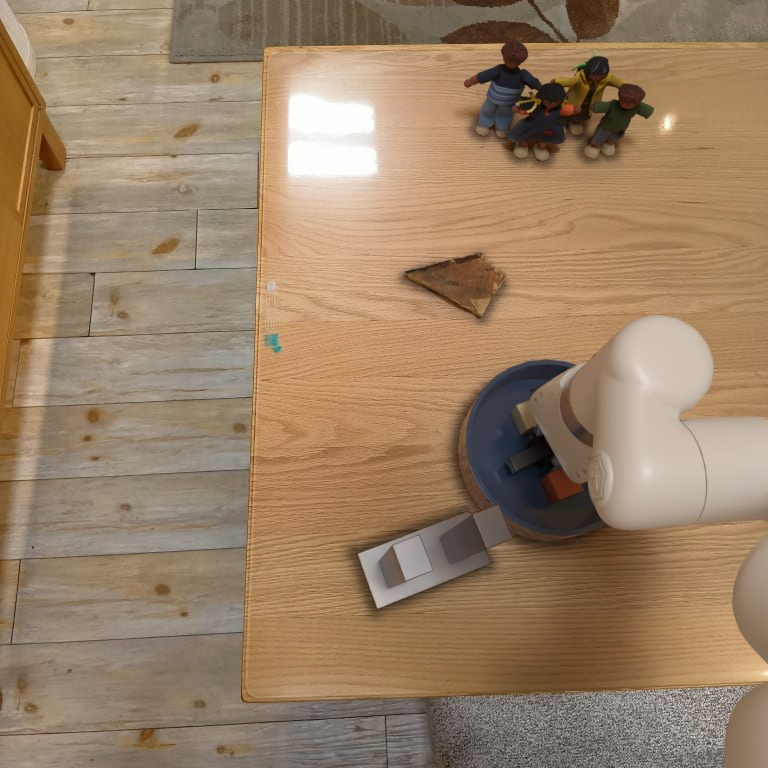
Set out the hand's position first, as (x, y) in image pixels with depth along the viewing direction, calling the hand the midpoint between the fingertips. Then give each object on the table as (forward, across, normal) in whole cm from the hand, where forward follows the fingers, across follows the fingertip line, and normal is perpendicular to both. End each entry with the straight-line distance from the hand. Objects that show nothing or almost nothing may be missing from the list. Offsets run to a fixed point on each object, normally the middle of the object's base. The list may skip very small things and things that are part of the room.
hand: (544, 450), depth 77 cm
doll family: (+2, +38, -22) cm, 44 cm away
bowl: (+2, 0, 0) cm, 2 cm away
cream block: (+1, +4, 0) cm, 4 cm away
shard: (+2, +22, -1) cm, 22 cm away
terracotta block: (+1, -4, 0) cm, 4 cm away
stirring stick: (-1, 0, 0) cm, 1 cm away
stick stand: (+2, -5, +18) cm, 18 cm away
